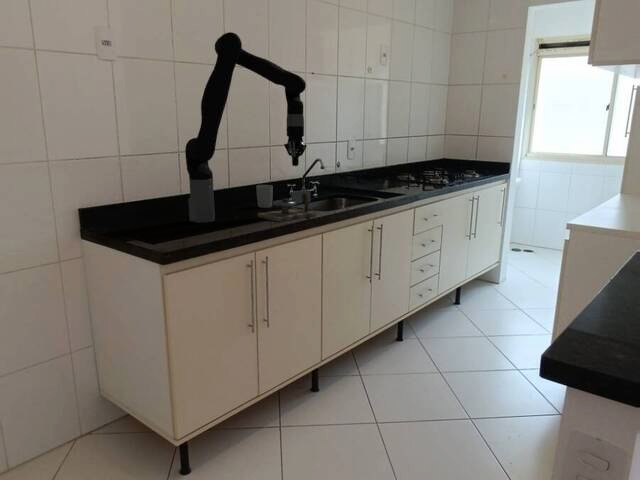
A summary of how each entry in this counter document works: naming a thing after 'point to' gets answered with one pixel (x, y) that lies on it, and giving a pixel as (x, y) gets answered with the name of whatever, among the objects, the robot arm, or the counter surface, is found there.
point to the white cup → (264, 195)
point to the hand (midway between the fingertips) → (295, 165)
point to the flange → (293, 199)
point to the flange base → (288, 213)
